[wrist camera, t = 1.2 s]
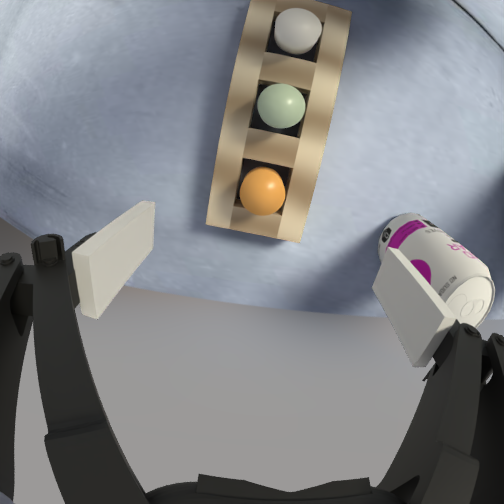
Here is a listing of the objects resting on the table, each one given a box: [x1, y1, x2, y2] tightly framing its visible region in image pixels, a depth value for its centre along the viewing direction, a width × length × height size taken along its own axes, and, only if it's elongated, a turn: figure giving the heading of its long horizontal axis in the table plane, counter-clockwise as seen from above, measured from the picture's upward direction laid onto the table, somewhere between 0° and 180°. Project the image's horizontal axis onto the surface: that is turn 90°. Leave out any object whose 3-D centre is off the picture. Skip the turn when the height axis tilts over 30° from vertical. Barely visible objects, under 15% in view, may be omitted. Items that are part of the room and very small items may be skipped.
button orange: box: [240, 166, 285, 216], centre depth 26 cm, size 4×4×4 cm
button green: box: [258, 84, 305, 128], centre depth 23 cm, size 4×4×4 cm
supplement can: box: [378, 213, 495, 328], centre depth 25 cm, size 8×8×15 cm
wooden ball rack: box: [206, 0, 352, 243], centre depth 25 cm, size 26×10×3 cm, turn 169°
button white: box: [274, 8, 322, 54], centre depth 19 cm, size 4×4×4 cm
